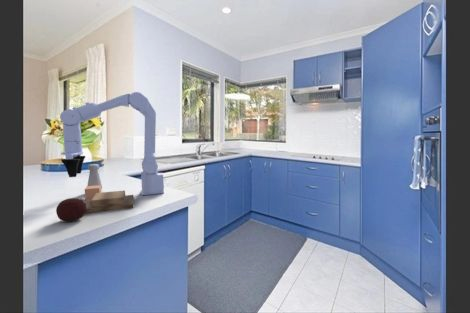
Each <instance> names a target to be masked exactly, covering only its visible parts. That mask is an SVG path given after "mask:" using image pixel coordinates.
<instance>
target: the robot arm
mask: <svg viewBox="0 0 470 313" xmlns="http://www.w3.org/2000/svg"><path fill="white" fill-rule="evenodd" d="M118 107H126V108H129V107H131V108H133V109H134V110H136V111H138V112H139V113H140V114H141V115H142V116H143V117H144V146H143V147H144V148H143V149H144V150H143V151H144V153H143V160H142V162H141V166H142V167H141V168H142V169H141V170H142V172H141V173H140V178H141V190H140V194H141V195H140V196H147V195H148V196H149V195H150V196H151V195H159V194H164V193H165V192H164V189H165V185H164V183H165V182H164V174H163V172H159V171H158V162H157V160H156V129H157V127H156V126H157V125H156V119H157V118H156V117H157V113H156V110H155V109H154V107H153V106H152V104H151V103H150V101H149V99H148V97H146V96H145V95H144V94H142V93H141V92H138V91H134V92H131V93H126V94H125V93H124V94H122V95H120V96H116V97H114V98H111V99H109V100H106V101H103V102H101V103H98V104H97V103H95V102H88V101H87V102H85V104H84V105H81V106H78V107H76V106H73V107H71V108H72V109H69V108H68V109H65V110H63V111H62V112H60V114H59V115H60V116H59V118H60V119H59V120H60V121H61V122H62V133H63V134H62V137H63V148H64V152H61V153H60V155H62V156H63V155H64V156H65V158H61V159H60V160H61V163H62V164H63V166H64V167H65V170H66V172H67V174H68V177H69V178H76V177H77V176H78V175H79V174H82V170H83V169H82V168H83V164H84V161H85V158H86V156H85V155H83V154H84V151H83V140H82V129H81V123H82V122H86V121H87V122H88V121H90V120H93V119H96V118H98V117H100V116H101V114H102V113H103V112H106V111H109V110H112V109H115V108H118Z"/></svg>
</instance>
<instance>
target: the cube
mask: <svg viewBox="0 0 470 313" xmlns="http://www.w3.org/2000/svg"><path fill="white" fill-rule="evenodd" d="M96 193H102V190H101V185H97V186H87V185H86V186H85V188H84V200H85V201H84V202H86V201H87V200H88V199H93V197H94V196H95V194H96Z"/></svg>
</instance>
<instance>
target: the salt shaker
mask: <svg viewBox="0 0 470 313" xmlns="http://www.w3.org/2000/svg"><path fill="white" fill-rule="evenodd" d="M99 169H100V165H99V164H98V163H97V164H96V163H93V164H92V163H90V164H88V165H87V170H89V175H88V180H87V185H86V187H87V186H97V185H101V191H102V190H103V184H102V181H101V177H100V172H99Z"/></svg>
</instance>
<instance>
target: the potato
mask: <svg viewBox="0 0 470 313" xmlns="http://www.w3.org/2000/svg"><path fill="white" fill-rule="evenodd" d="M85 203H86V201H84V200H83V199H82V198H81V199H80V198H77V197H71V198H66V199H63V200H62V201H59V203H58V204H57V206H56V210H55V211H56V217H57V218H58V219H59V220H60V221H62V222H74V221H77V220H79V219H81V218H82V217H83V216H84V215H85V213H86V204H85Z"/></svg>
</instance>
